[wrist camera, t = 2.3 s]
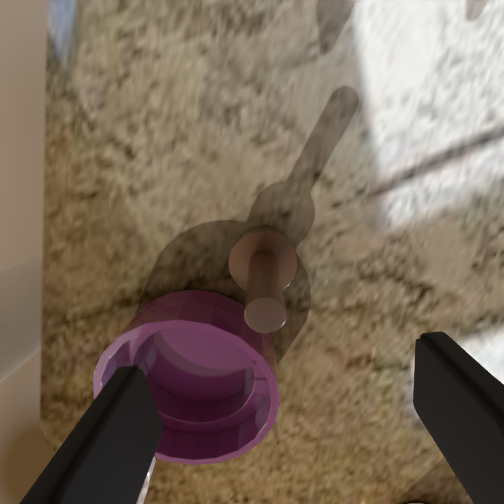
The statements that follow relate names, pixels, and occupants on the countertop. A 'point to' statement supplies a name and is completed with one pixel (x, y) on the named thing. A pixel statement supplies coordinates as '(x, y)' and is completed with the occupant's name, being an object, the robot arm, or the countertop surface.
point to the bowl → (200, 374)
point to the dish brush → (263, 275)
